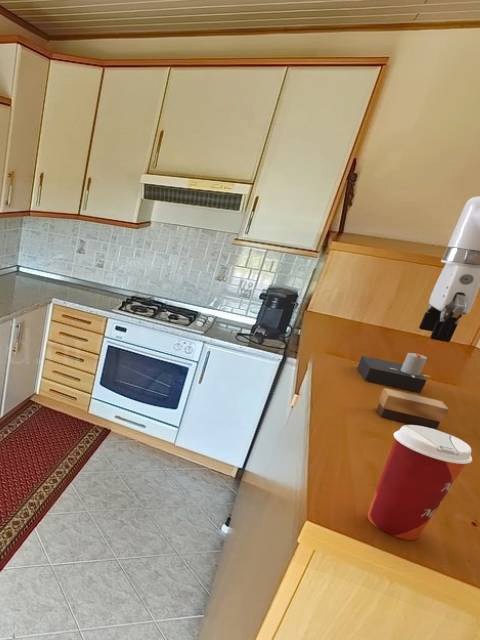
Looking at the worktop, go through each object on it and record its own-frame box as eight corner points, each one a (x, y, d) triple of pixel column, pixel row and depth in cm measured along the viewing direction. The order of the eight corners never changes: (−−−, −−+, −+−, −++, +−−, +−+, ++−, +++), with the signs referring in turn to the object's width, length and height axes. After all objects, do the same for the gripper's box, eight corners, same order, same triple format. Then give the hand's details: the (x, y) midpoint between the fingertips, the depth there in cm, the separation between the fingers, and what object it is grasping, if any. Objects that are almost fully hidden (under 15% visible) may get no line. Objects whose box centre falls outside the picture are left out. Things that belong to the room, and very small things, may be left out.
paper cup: (439, 553, 63) (491, 460, 58) (369, 534, 65) (413, 443, 60) (412, 516, 69) (456, 431, 64) (349, 500, 72) (387, 417, 67)
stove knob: (398, 368, 122) (406, 350, 120) (417, 372, 120) (425, 354, 118) (402, 372, 119) (410, 354, 117) (420, 376, 117) (429, 358, 116)
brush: (431, 422, 101) (441, 401, 99) (438, 431, 97) (449, 409, 96) (374, 408, 105) (383, 387, 104) (379, 416, 102) (388, 395, 100)
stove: (415, 380, 125) (421, 367, 124) (428, 395, 116) (435, 381, 115) (357, 367, 131) (362, 355, 129) (365, 381, 121) (370, 367, 120)
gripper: (507, 265, 94) (468, 349, 100) (476, 257, 108) (443, 330, 114) (456, 259, 97) (421, 340, 103) (433, 252, 111) (403, 323, 117)
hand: (433, 335), depth 108 cm, fingers open, 9 cm apart
